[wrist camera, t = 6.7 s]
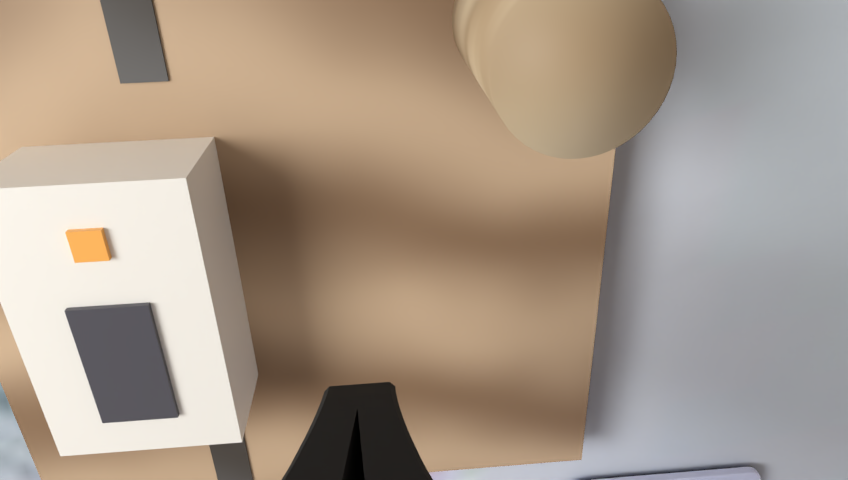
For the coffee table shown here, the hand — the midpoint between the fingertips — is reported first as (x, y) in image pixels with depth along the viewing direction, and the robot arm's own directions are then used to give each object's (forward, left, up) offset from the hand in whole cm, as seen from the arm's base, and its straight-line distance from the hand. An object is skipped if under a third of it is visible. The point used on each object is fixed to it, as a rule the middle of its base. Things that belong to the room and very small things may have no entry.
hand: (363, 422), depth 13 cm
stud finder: (0, +6, -7) cm, 9 cm away
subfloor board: (+1, +2, -8) cm, 9 cm away
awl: (+7, -4, -7) cm, 11 cm away
